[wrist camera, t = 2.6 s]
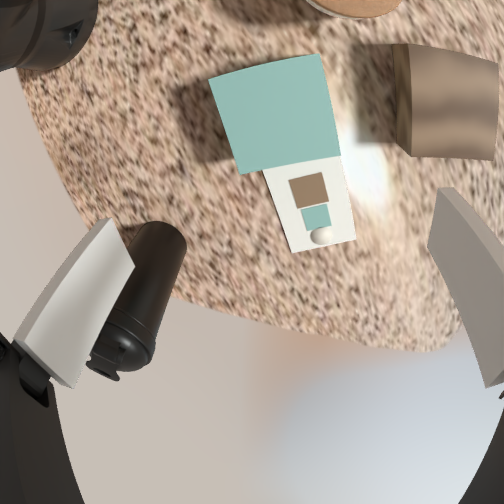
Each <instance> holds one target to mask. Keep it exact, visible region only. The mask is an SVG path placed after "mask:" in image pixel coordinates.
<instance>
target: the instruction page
mask: <svg viewBox="0 0 504 504" xmlns="http://www.w3.org/2000/svg"><path fill="white" fill-rule="evenodd" d="M263 173H264V176H265V179H266V181H267V184H268V187H269V189H270V192H271V195H272V198H273V201H274V203H275V206H276V209H277V212H278V215H279V217H280V220H281V223H282V226H283V229H284V232H285V235H286V237H287V240H288V243H289V246H290V249H291V252H292V253H295V252H300V251H305V250H309V249H314V248H319V247H323V246H328V245H333V244H337V243H342V242H346V241H351V240H356V233H355V227H354V221H353V216H352V210H351V205H350V199H349V194H348V189H347V184H346V180H345V175H344V170H343V166H342V162H341V157H340V156H336V157H329V158H323V159H317V160H311V161H306V162H300V163H295V164H289V165H284V166H279V167H274V168H269V169H264V170H263Z"/></svg>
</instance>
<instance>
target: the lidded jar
mask: <svg viewBox="0 0 504 504" xmlns="http://www.w3.org/2000/svg"><path fill="white" fill-rule="evenodd" d="M306 1H307V2H308V3H309V4H311V5H312V6H313V7H315V8H316V9H318V10H320V11H321V12H323V13H326V14H328V15H331V16H334V17H337V18H342V19H352V20H357V19H367V18H373V17H378V16H381V15H384V14H387V13H388V12H390V11H392V10H394V9H395V8H396V7H397V6H398V5H399V4H400V2H401V1H402V0H306Z"/></svg>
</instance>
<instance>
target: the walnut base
mask: <svg viewBox="0 0 504 504" xmlns="http://www.w3.org/2000/svg"><path fill="white" fill-rule="evenodd" d="M392 52H393V62H394V73H395V89H396V116H397V142H396V143H397V144H398V145H399V146H400V147H401V148H402V149H403V150H404V151H405V152H406V153H407V154H408V155H410V156H411V157H436V158H460V159H475V160H488V161H493V159H494V152H495V144H496V135H497V124H498V107H499V68H498V63H495V62H492V61H489V60H485V59H482V58H478V57H475V56H471V55H467V54H463V53H458V52H454V51H449V50H444V49H439V48H434V47H428V46H422V45H415V44H392Z"/></svg>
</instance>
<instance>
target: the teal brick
mask: <svg viewBox="0 0 504 504" xmlns="http://www.w3.org/2000/svg"><path fill="white" fill-rule="evenodd" d="M208 81H209V84H210V87H211V90H212V93H213V96H214V99H215V102H216V105H217V108H218V111H219V113H220V116H221V119H222V122H223V125H224V128H225V131H226V134H227V137H228V140H229V143H230V146H231V149H232V152H233V155H234V158H235V161H236V164H237V167H238V171H239V174H240V175H241V174H246V173H250V172H255V171H259V170H264V169H269V168H274V167H279V166H284V165H289V164H295V163H300V162H306V161H311V160H317V159H323V158H329V157H336V156H341V153H340V147H339V141H338V135H337V130H336V125H335V119H334V114H333V109H332V105H331V100H330V95H329V91H328V86H327V82H326V78H325V74H324V70H323V66H322V62H321V58H320V54H312V55H306V56H300V57H294V58H289V59H284V60H279V61H274V62H270V63H265V64H261V65H257V66H253V67H249V68H245V69H241V70H238V71H234V72H231V73H227V74H224V75H221V76H217V77H214V78H211V79H208Z"/></svg>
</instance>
